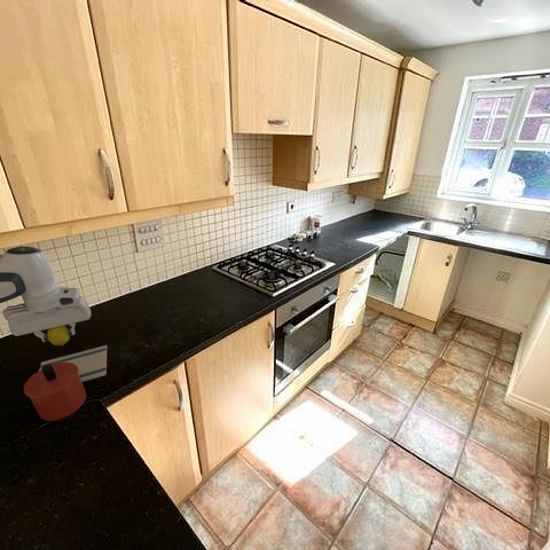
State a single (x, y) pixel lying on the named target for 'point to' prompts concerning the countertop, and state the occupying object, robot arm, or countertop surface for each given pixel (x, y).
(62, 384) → the pot lid
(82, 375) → the towel
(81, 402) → the pot
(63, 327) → the lemon
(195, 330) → the countertop surface
